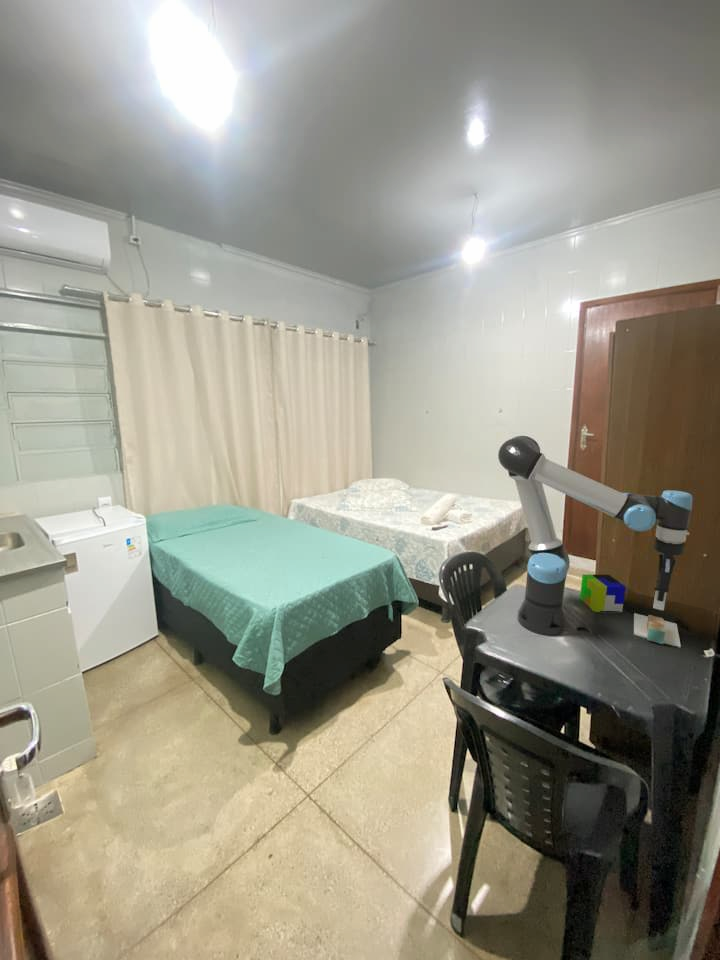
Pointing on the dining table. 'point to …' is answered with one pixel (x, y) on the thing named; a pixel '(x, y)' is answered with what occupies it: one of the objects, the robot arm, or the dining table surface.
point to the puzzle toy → (602, 593)
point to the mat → (670, 628)
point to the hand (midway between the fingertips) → (658, 608)
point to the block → (655, 629)
